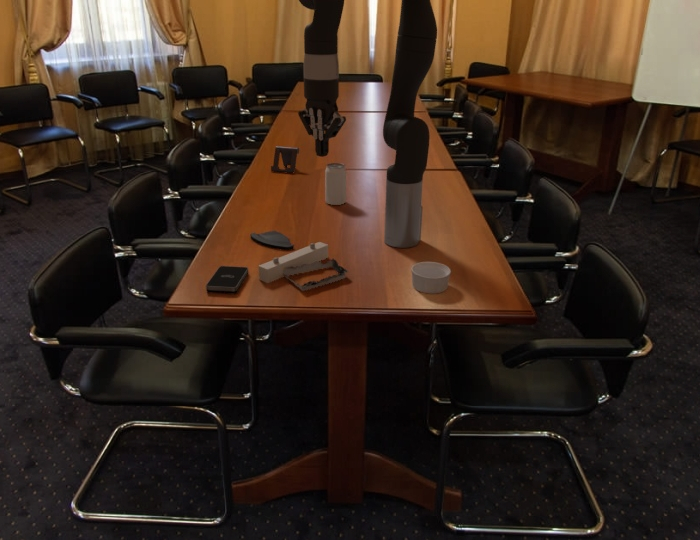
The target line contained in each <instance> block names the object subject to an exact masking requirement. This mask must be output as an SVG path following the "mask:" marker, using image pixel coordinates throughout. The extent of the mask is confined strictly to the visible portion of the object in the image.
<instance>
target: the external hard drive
mask: <svg viewBox="0 0 700 540" xmlns="http://www.w3.org/2000/svg"><path fill="white" fill-rule="evenodd" d="M248 276H249V267H248V266H234V265H233V266H230V265H220V266H218V268H217V269H216V271H215V272H214V273H213V274H212V276H211V278H210V279H209V280H208V282H207V283H206V284H205V288H206V292H207V293H208V294H209V293H210V294H227V295H228V294H230V295H236V294H237V293H238V292H239V290H240V288H241V287H242V285H243V283H244V282H245V280H246V279H247V277H248Z"/></svg>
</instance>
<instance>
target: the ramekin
mask: <svg viewBox="0 0 700 540" xmlns="http://www.w3.org/2000/svg"><path fill="white" fill-rule="evenodd" d="M410 270H411V283H412V287H413V288H414V289H415V290H416V291H418V292H419V293H424V294H429V295H430V294H432V295H435V294H440V293H443V292H445V291H446V290H447V288H448V285H449V281H450V276H451V273H452V271H451V268H450V267H449V266H448V265H446V264H443V263H441V262H435V261H421V262H418V263H415V264H413V265H412V266H411V268H410Z"/></svg>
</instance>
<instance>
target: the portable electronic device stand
mask: <svg viewBox="0 0 700 540" xmlns="http://www.w3.org/2000/svg"><path fill="white" fill-rule="evenodd" d="M274 149H275V150H274V156H273V165H271V166H270V171H271V172H272V171H274V172H273V173H282V172H287V173H286V174H291V173H293V172H295V173H296V168H295V167H297V166H296V164H297V157H298V154H299V153H300V148H299V147H292V146H291V147H290V146H280V145H276V146H275V148H274ZM280 157H281V161H282V164H283V167H284V166H285V167H284V168H280V166H279V165H280V164H279V161H280ZM287 166H289V167H287Z"/></svg>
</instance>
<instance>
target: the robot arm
mask: <svg viewBox="0 0 700 540" xmlns="http://www.w3.org/2000/svg"><path fill="white" fill-rule="evenodd" d="M298 1H299V3H300V4H301V5H302V6H303V7H304V8H306V9H309V10H313V16H312V22H310V23H308V24H307V25H306V26H305V28H304V31H303V33H304V34H303V39H304V40H303V43H304V45H303V46H304V47H303V49H304V50H303V51H304V56H303V57H304V58H303V66H302V67H303V97H304V99H305V100H306V102H305V107H304V108H303V110H299V111H298V112H297V114H298V117H299V119H300V121H301V123H302V124H303V126H304V129H305V131H306V132H307V135H309V136H312V138H313V139H314V142H315V143H314V147H315V148H314V149H315V150H314V151H315V153H316V156H317V157H321V158H324V157H327V156H328V155H329V151H330V149H329V146H330V145H329V143H330V141H329V140H330V139H332V138H335V137H336V136H337V135H338V133H339V132H340V130H342V127H343V126H344V125H345V123H346V121H347V117H346V116H344V115H341V114H340V112H338V111H339V106H338V105H337V101H338V98H339V97H340V96H339V95H340V93H339V92H340V90H339V89H340V85H339V84H340V75H339V74H340V72H339V71H340V64H339V56H338V55H339V54H338V53H339V52H338V50H339V49H338V45H339V44H338V43H339V42H338V41H339V40H338V37H339V36H338V31H339V29H340V24H341V22H342V21H341V20H342V16H343V11H344V6H345V0H298ZM400 5H401V6H400V15H399V23H398V31H397V38H396V45H395V55H394V66H393V73H392V79H391V86H390V87H391V88H390V95H389V99H388V104H387V108H386V113H385V117H384V122H383V126H382V137H383V140H384V142H385V145H386V146H387V147H389V148H391V149H392V150H395V157H394V159H395V160H394V164H392V165H389V166H388V167H387V169H386V179H385V181H386V183H385V212H384V214H385V215H384V237H383V239H384V240H383V241H384V243H385V244H386V245H388V246H390V247H394V248H399V249H400V248H402V249H405V248H406V249H407V248H413V247H416V246H418V244H419V243H420V240H421V239H422V224H423V223H422V222H423V206H422V200H423V199H422V196H423V194H422V193H423V180H424V173H425V171H426V169H427V166H428V158H429V150H430V149H429V148H430V136H431V135H430V129H429V126H428V124H427V122H426V121H425V120H423V119H422V118H420V117H416V116H415V108H416V100H417V96H418V92H419V89H420V88H421V86H422V84H423V82H424V80H425V78H426V76H427V75H428V73H429V71H430V68H431V67H432V64H433V62H434V58H435V52H436V46H437V38H438V26H437V20H436V17H435V12H434V9H433V6H432V3H431V0H401V3H400Z"/></svg>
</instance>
